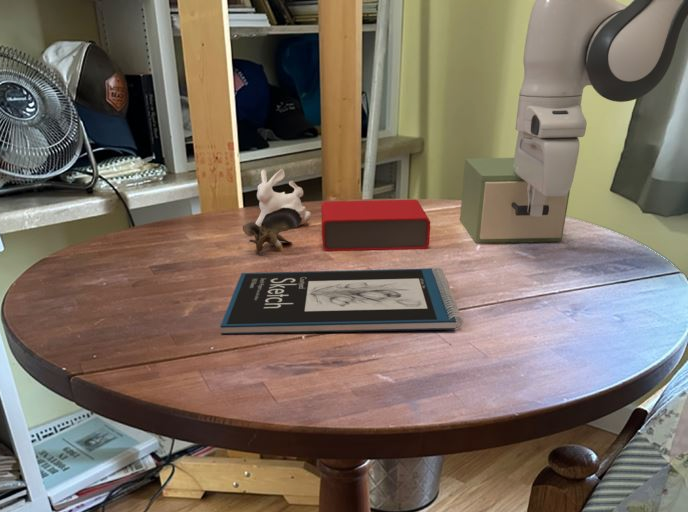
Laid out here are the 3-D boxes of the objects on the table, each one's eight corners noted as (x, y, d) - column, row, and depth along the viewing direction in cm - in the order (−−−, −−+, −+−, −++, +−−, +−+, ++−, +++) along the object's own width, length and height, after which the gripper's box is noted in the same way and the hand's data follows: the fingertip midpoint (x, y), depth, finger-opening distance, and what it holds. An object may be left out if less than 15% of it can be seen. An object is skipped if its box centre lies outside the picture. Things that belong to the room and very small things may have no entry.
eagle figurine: (284, 252, 113) (312, 229, 119) (257, 213, 111) (287, 191, 116) (256, 270, 119) (284, 247, 124) (230, 233, 116) (260, 212, 122)
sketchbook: (241, 282, 105) (240, 268, 104) (442, 279, 104) (443, 265, 103) (221, 335, 87) (219, 319, 86) (463, 332, 86) (464, 315, 85)
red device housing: (417, 227, 130) (419, 199, 127) (428, 248, 118) (430, 218, 115) (321, 230, 129) (321, 201, 127) (322, 251, 118) (322, 220, 115)
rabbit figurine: (247, 231, 130) (243, 174, 124) (247, 221, 136) (243, 167, 131) (312, 228, 131) (310, 172, 125) (309, 218, 137) (307, 165, 131)
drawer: (569, 246, 114) (579, 188, 109) (486, 247, 114) (492, 189, 109) (537, 216, 132) (545, 164, 127) (465, 217, 132) (469, 166, 127)
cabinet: (561, 241, 120) (572, 173, 114) (475, 243, 120) (482, 175, 114) (537, 218, 134) (545, 157, 128) (459, 219, 134) (464, 158, 128)
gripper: (509, 110, 112) (499, 201, 119) (544, 125, 95) (530, 231, 102) (549, 109, 112) (536, 200, 119) (591, 124, 94) (573, 230, 102)
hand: (534, 215), depth 110 cm, fingers closed
